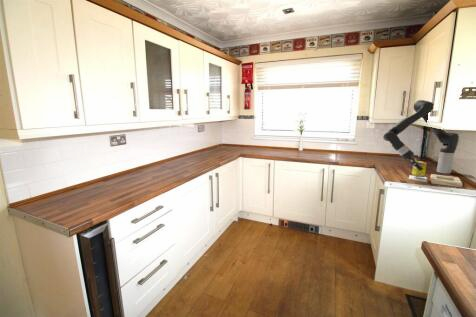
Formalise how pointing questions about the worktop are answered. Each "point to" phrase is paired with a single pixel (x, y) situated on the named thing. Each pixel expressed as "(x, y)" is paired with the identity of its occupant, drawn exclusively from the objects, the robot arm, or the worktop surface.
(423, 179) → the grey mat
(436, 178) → the puzzle board
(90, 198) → the worktop surface
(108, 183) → the worktop surface
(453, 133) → the robot arm
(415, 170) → the supplement box
